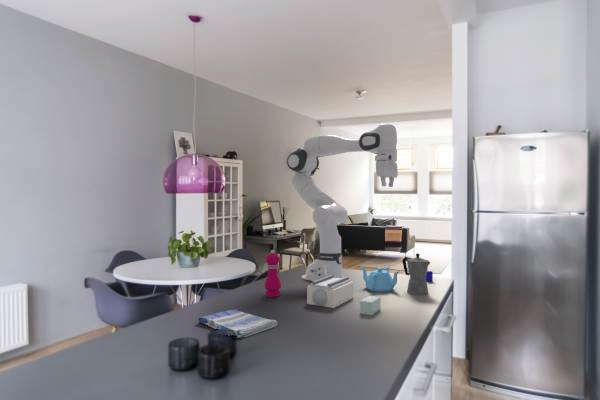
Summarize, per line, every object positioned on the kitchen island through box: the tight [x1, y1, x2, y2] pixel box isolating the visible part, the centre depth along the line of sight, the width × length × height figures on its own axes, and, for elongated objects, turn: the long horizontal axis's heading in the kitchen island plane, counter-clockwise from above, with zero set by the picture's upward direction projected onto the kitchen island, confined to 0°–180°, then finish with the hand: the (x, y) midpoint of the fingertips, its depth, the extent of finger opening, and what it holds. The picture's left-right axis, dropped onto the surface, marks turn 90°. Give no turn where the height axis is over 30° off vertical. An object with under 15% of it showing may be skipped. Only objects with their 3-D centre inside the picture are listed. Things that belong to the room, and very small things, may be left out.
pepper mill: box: [264, 249, 282, 298], centre depth 178 cm, size 7×7×20 cm
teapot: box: [360, 265, 401, 293], centre depth 189 cm, size 15×15×10 cm
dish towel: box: [198, 309, 278, 339], centre depth 138 cm, size 17×24×3 cm
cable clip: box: [425, 270, 434, 283], centre depth 210 cm, size 12×4×6 cm, turn 179°
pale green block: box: [359, 295, 381, 316], centre depth 154 cm, size 4×11×5 cm, turn 148°
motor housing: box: [306, 275, 354, 309], centre depth 170 cm, size 12×22×9 cm, turn 148°
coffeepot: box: [401, 252, 431, 296], centre depth 183 cm, size 15×9×18 cm, turn 33°
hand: (387, 186), depth 195 cm, fingers open, 8 cm apart
